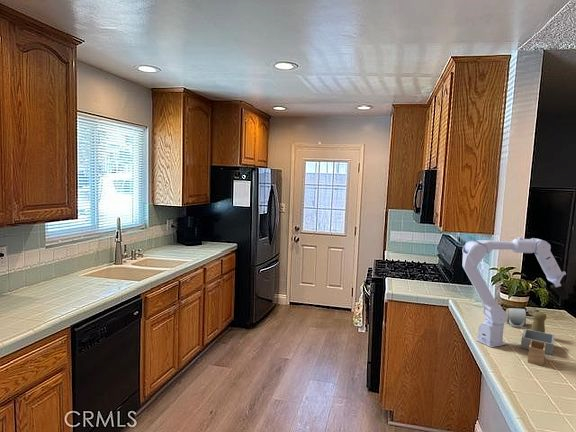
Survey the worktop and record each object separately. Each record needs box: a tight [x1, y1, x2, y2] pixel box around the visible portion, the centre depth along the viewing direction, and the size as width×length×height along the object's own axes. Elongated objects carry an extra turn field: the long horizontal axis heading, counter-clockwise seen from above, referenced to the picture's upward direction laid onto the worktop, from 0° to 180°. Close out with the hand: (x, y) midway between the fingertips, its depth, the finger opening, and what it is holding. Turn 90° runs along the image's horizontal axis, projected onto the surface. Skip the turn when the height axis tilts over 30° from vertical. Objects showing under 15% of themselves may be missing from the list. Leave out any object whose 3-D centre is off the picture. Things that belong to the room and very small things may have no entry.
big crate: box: [520, 328, 555, 356], centre depth 172 cm, size 13×11×4 cm
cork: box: [530, 311, 547, 333], centre depth 183 cm, size 6×6×11 cm
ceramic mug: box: [505, 307, 527, 329], centre depth 198 cm, size 11×8×8 cm
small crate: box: [527, 340, 546, 367], centre depth 158 cm, size 9×5×6 cm, turn 146°
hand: (564, 294), depth 170 cm, fingers open, 7 cm apart
